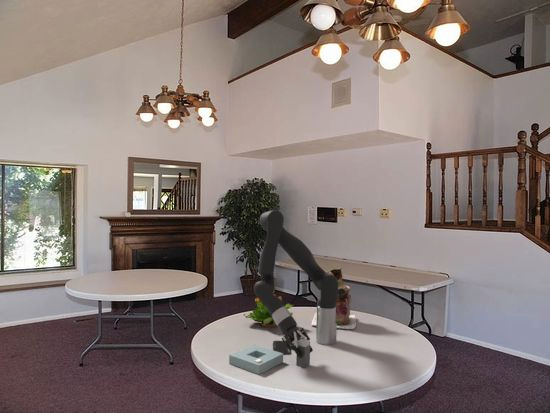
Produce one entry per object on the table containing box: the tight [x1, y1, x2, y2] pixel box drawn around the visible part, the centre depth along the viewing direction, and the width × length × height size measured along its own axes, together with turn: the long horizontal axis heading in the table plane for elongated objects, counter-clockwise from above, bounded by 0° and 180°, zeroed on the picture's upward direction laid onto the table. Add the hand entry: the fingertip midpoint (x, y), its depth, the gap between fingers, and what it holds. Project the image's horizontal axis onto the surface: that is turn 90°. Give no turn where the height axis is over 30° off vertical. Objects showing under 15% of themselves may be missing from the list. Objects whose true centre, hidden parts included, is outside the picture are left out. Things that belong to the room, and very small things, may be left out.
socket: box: [228, 344, 284, 375], centre depth 159 cm, size 16×16×4 cm
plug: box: [295, 339, 311, 369], centre depth 158 cm, size 4×4×10 cm
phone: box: [272, 340, 291, 355], centre depth 177 cm, size 8×1×15 cm
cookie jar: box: [311, 266, 357, 330], centre depth 219 cm, size 25×25×32 cm
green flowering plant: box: [243, 293, 294, 328], centre depth 212 cm, size 25×24×18 cm
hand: (306, 354), depth 157 cm, fingers open, 6 cm apart
